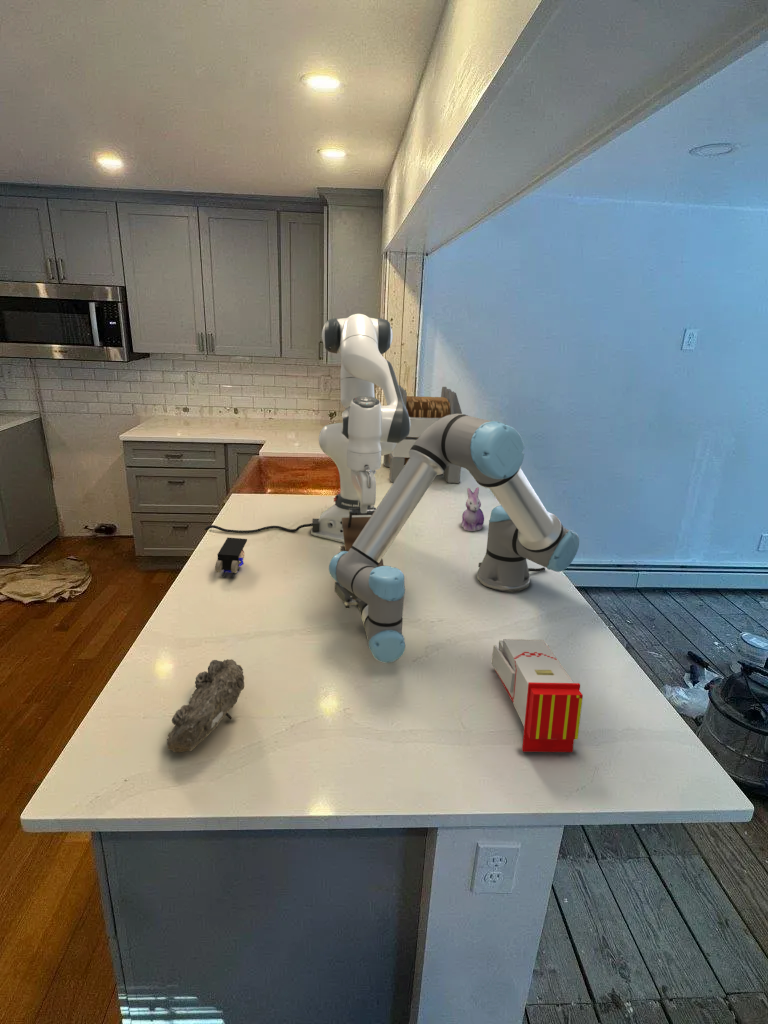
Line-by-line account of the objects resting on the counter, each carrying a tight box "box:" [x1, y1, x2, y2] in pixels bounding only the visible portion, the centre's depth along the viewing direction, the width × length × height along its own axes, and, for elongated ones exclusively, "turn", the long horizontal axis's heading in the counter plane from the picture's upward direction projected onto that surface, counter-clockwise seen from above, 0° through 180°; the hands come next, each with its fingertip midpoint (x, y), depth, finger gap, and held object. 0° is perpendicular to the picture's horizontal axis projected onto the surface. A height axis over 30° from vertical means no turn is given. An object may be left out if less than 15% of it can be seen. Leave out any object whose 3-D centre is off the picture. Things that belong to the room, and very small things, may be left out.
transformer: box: [383, 384, 463, 484], centre depth 268 cm, size 34×33×41 cm
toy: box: [491, 638, 584, 753], centre depth 114 cm, size 12×13×30 cm
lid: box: [342, 507, 385, 567], centre depth 153 cm, size 17×10×9 cm
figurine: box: [461, 486, 485, 532], centre depth 206 cm, size 9×10×15 cm
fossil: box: [166, 658, 245, 754], centre depth 106 cm, size 22×10×15 cm
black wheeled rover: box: [214, 537, 248, 578], centre depth 166 cm, size 7×8×15 cm
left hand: (362, 510), depth 153 cm, fingers closed
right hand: (363, 572), depth 154 cm, fingers closed on chest, 10 cm apart
